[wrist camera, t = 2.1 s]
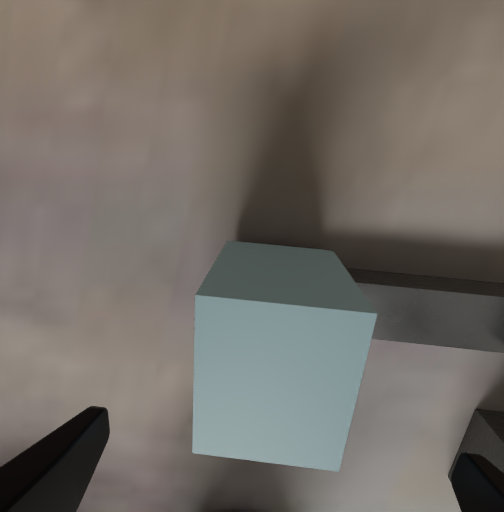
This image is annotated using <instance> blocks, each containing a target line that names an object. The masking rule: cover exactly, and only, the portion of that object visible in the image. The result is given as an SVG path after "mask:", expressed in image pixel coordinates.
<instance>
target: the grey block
mask: <svg viewBox="0 0 504 512" xmlns="http://www.w3.org/2000/svg"><path fill="white" fill-rule="evenodd" d="M376 318H377V312H376V311H375V310H374V308H373V307H372V305H371V304H370V302H369V301H368V300H367V298H366V297H365V295H364V294H363V293H362V291H361V290H360V288H359V287H358V285H357V284H356V283H355V281H354V280H353V278H352V277H351V275H350V274H349V273H348V271H347V270H346V268H345V267H344V265H343V264H342V263H341V261H340V260H339V258H338V257H337V255H336V254H335V253H334V251H328V250H323V249H313V248H302V247H292V246H281V245H271V244H260V243H250V242H239V241H227V242H226V244H225V246H224V248H223V249H222V251H221V253H220V254H219V256H218V258H217V259H216V261H215V263H214V264H213V266H212V268H211V269H210V271H209V273H208V274H207V276H206V278H205V280H204V281H203V283H202V285H201V286H200V288H199V290H198V291H197V293H196V295H195V339H194V391H193V443H192V453H195V454H203V455H211V456H219V457H227V458H235V459H243V460H251V461H258V462H266V463H274V464H282V465H290V466H298V467H306V468H314V469H321V470H329V471H337V472H339V470H340V465H341V461H342V457H343V453H344V449H345V445H346V441H347V437H348V433H349V428H350V424H351V420H352V416H353V412H354V408H355V404H356V400H357V396H358V391H359V387H360V383H361V379H362V375H363V371H364V367H365V363H366V359H367V354H368V350H369V346H370V342H371V338H372V334H373V330H374V326H375V322H376Z"/></svg>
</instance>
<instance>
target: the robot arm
mask: <svg viewBox="0 0 504 512" xmlns="http://www.w3.org/2000/svg"><path fill="white" fill-rule="evenodd" d="M109 434H110V428H109V418H108V410H107V409H106V408H104V407H97V406H91V407H89V408H87V409H85V410H84V411H82V412H81V413H79V414H78V415H76V416H75V417H73V418H72V419H71V420H69V421H68V422H66V423H65V424H63V425H62V426H60V427H59V428H57V429H56V430H54V431H53V432H51V433H50V434H48V435H47V436H45V437H44V438H43V439H41V440H40V441H38V442H37V443H35V444H34V445H32V446H31V447H29V448H28V449H26V450H25V451H23V452H22V453H20V454H19V455H17V456H16V457H15V458H13V459H12V460H10V461H9V462H7V463H6V464H4V465H3V466H1V467H0V512H76V511H77V509H78V507H79V504H80V502H81V500H82V498H83V496H84V493H85V491H86V489H87V487H88V484H89V482H90V480H91V478H92V475H93V473H94V471H95V469H96V466H97V464H98V462H99V459H100V457H101V455H102V453H103V450H104V448H105V446H106V444H107V441H108V438H109ZM451 483H452V487H453V490H454V492H455V495H456V498H457V501H458V503H459V506H460V509H461V511H462V512H504V473H503V472H502V471H501V470H499V469H498V468H497V467H496V466H495V465H493V464H492V463H491V462H490V461H488V460H487V459H486V458H485V457H483V456H482V455H480V454H477V453H470V452H462V453H460V454H459V456H458V458H457V461H456V463H455V466H454V468H453V470H452V473H451Z"/></svg>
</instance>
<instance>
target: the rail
mask: <svg viewBox="0 0 504 512" xmlns="http://www.w3.org/2000/svg"><path fill="white" fill-rule="evenodd" d="M346 270H347V271H348V273H349V274H350V275H351V277H352V278H353V280H354V281H355V283H356V284H357V285H358V287H359V288H360V290H361V291H362V293H363V294H364V295H365V297H366V298H367V300H368V301H369V302H370V304H371V305H372V307H373V308H374V310H375V311H376V312H377V318H376V322H375V326H374V330H373V334H372V338H371V339H380V340H389V341H398V342H408V343H417V344H426V345H435V346H445V347H454V348H463V349H473V350H482V351H491V352H501V353H504V284H502V283H492V282H481V281H471V280H461V279H450V278H440V277H430V276H420V275H409V274H399V273H389V272H379V271H368V270H358V269H348V268H346Z"/></svg>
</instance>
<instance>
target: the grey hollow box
mask: <svg viewBox="0 0 504 512" xmlns="http://www.w3.org/2000/svg"><path fill="white" fill-rule="evenodd" d="M462 452H470V453H477V454H480V455H482V456H483V457H485V458H486V459H487V460H488V461H490V462H491V463H492V464H493V465H495V466H496V467H497V468H498V469H499V470H501V471H502V472H503V473H504V413H503V412H495V411H486V410H477V409H476V410H475V412H474V415H473V417H472V420H471V422H470V424H469V427H468V429H467V432H466V434H465V436H464V439H463V441H462V444H461V446H460V449H459V451H458V453H457V456H456V458H455V461H454V463H453V466H452V468H451V470H450V473H449V475H448V478H449V480H450V481H451V473H452V470H453V468H454V466H455V463H456V461H457V458H458V456H459V454H460V453H462Z"/></svg>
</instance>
